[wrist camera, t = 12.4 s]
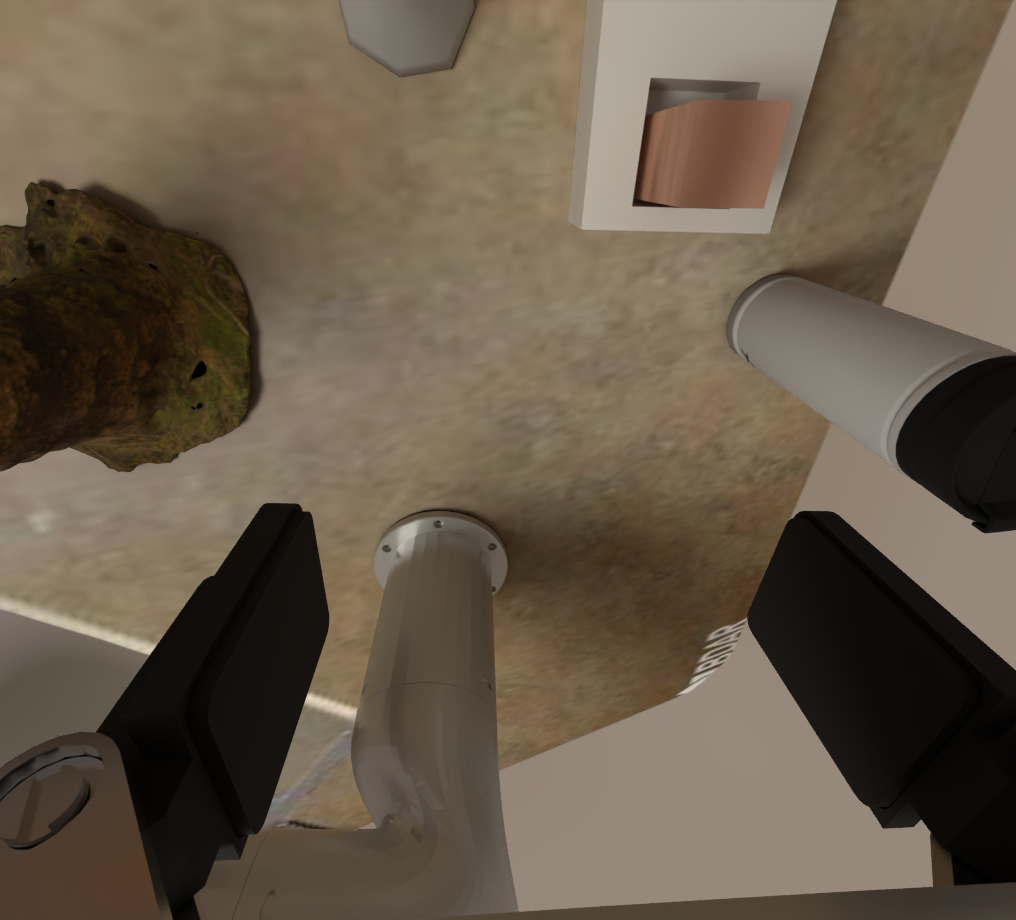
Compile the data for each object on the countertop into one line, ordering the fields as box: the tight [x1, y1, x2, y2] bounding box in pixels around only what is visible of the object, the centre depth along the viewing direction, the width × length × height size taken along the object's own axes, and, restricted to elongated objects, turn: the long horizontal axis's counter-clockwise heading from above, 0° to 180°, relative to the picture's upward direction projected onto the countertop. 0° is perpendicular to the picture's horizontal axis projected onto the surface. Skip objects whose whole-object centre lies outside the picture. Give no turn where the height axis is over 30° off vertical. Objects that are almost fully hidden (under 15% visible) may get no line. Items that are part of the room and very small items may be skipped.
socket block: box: [568, 0, 837, 234], centre depth 25 cm, size 15×11×4 cm
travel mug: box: [726, 274, 1016, 533], centre depth 26 cm, size 6×7×20 cm
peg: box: [633, 99, 792, 209], centre depth 25 cm, size 4×4×9 cm
